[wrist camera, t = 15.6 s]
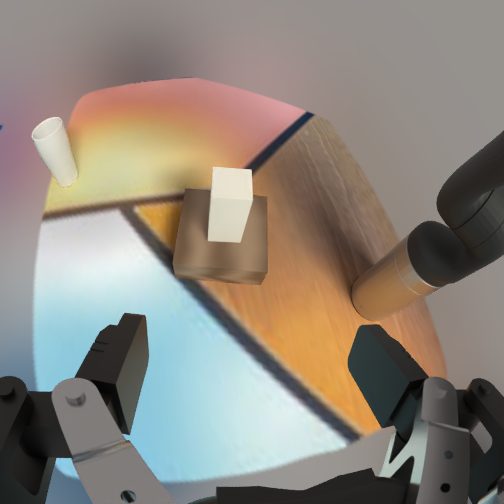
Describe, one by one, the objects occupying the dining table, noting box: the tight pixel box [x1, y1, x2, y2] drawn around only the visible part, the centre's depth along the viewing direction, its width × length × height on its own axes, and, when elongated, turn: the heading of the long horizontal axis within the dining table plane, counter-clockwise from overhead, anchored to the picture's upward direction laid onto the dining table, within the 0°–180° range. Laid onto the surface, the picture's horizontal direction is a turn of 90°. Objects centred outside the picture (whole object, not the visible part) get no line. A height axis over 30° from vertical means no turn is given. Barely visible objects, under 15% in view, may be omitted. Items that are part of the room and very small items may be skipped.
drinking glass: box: [32, 117, 78, 188], centre depth 44 cm, size 7×7×15 cm
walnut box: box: [173, 189, 268, 285], centre depth 47 cm, size 14×14×6 cm
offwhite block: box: [208, 167, 253, 243], centre depth 40 cm, size 5×5×11 cm
